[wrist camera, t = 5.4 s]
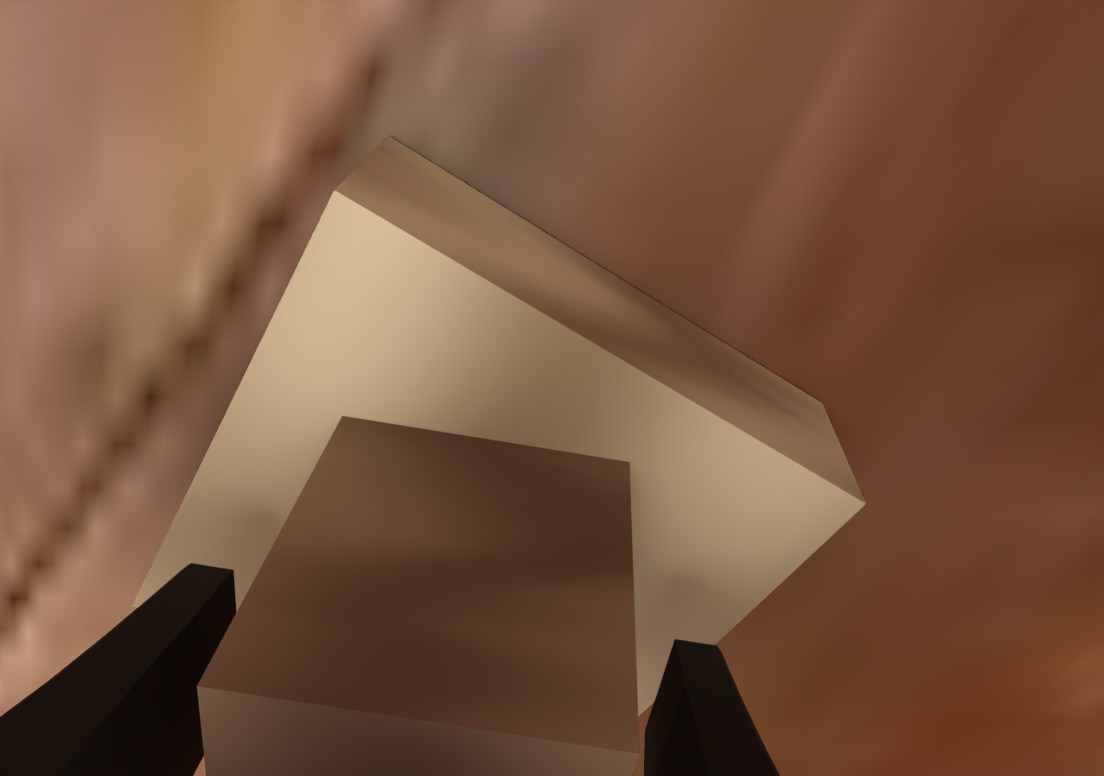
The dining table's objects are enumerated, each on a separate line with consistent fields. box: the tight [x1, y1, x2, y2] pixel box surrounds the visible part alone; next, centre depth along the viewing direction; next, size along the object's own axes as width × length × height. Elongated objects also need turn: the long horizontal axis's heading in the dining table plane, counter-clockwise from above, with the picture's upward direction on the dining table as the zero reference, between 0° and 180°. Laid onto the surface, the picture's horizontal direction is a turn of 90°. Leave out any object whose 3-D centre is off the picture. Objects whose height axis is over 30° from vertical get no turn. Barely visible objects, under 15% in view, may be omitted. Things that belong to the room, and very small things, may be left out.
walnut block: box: [197, 416, 640, 776], centre depth 11 cm, size 4×4×5 cm
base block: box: [132, 136, 866, 717], centre depth 15 cm, size 9×9×3 cm
